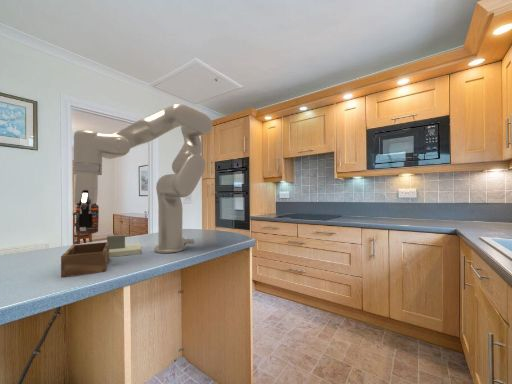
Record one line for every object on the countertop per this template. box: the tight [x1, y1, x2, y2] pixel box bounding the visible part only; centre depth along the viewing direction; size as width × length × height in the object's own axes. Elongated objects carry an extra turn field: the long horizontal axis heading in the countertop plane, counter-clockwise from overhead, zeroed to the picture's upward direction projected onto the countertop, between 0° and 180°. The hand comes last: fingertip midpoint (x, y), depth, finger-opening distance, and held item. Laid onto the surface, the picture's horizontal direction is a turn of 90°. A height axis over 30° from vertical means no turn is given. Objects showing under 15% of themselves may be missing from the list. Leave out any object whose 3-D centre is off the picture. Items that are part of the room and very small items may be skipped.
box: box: [60, 241, 110, 278], centre depth 76 cm, size 16×11×6 cm
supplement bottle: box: [75, 200, 100, 235], centre depth 75 cm, size 6×6×11 cm
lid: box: [106, 233, 143, 258], centre depth 93 cm, size 18×13×7 cm
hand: (87, 225), depth 75 cm, fingers closed on supplement bottle, 6 cm apart
